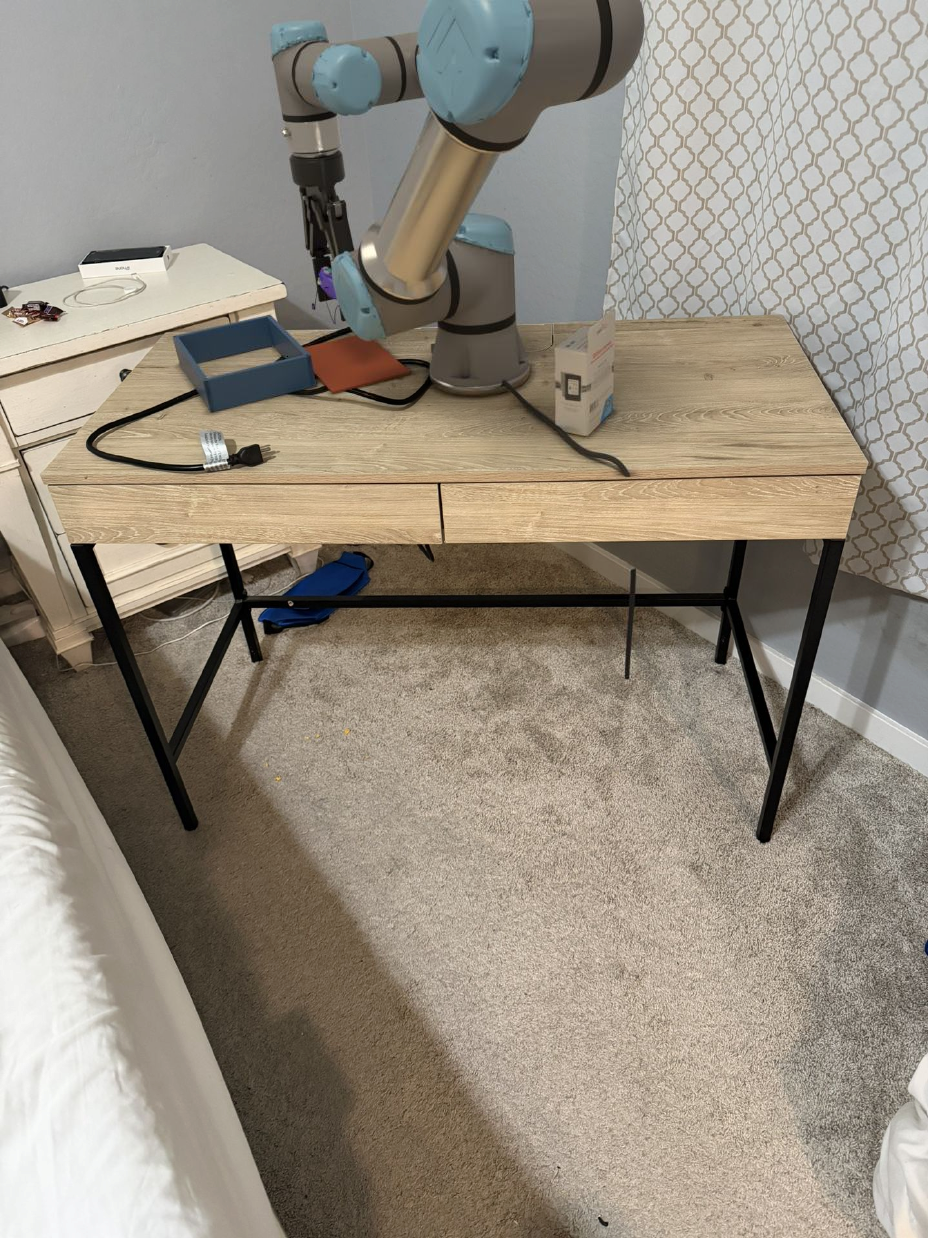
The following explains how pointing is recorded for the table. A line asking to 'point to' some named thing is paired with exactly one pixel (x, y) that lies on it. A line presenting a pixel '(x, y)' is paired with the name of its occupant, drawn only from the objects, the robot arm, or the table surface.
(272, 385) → the box
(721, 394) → the table surface
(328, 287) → the game controller
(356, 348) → the mat
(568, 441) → the robot arm
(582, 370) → the ink box
